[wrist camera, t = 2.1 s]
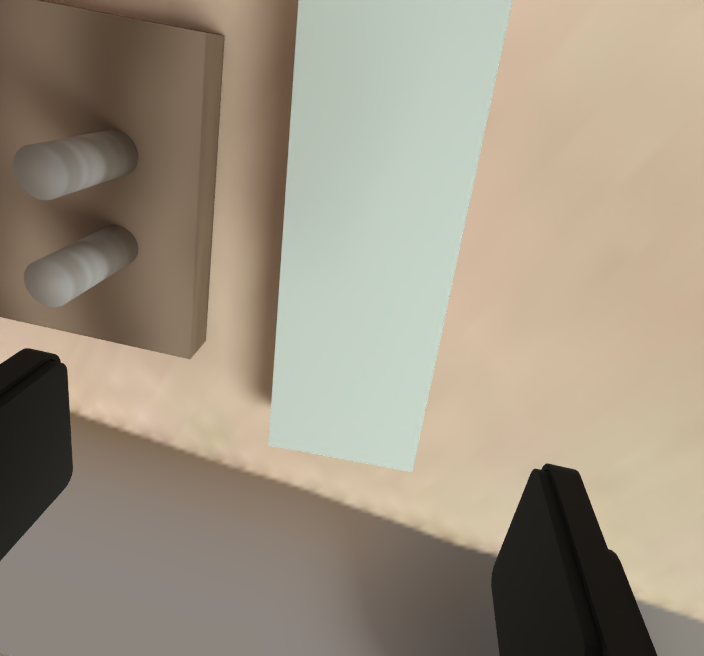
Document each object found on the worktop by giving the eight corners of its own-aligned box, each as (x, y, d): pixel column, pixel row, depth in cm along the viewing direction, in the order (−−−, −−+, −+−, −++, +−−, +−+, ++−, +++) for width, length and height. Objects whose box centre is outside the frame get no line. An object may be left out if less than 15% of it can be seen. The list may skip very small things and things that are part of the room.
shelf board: (321, -28, 21) (301, -46, 18) (504, -6, 21) (517, -20, 18) (286, 406, 30) (268, 445, 27) (414, 429, 29) (412, 472, 26)
